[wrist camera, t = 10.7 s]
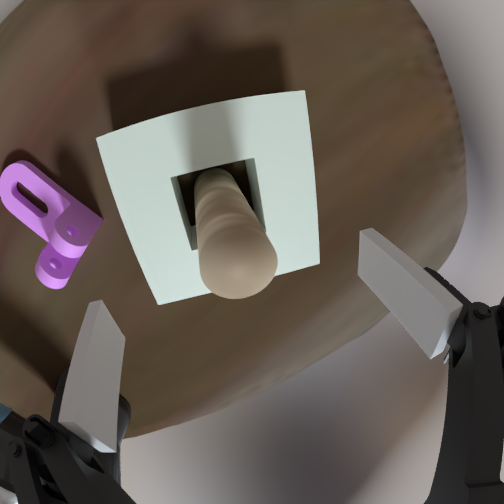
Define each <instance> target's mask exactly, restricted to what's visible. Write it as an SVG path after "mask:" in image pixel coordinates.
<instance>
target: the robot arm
mask: <svg viewBox="0 0 504 504" xmlns="http://www.w3.org/2000/svg"><path fill="white" fill-rule="evenodd" d="M358 276H359V277H360V278H361V279H362V280H363V281H364V282H365V283H366V284H367V286H368V287H369V288H370V289H371V290H372V291H373V292H374V293H375V294H376V296H377V297H378V298H379V299H380V300H381V301H382V302H383V303H384V305H385V306H386V307H387V308H388V309H389V310H390V311H391V313H392V314H393V315H394V316H395V317H396V318H397V320H398V321H399V322H400V323H401V324H402V325H403V327H404V328H405V329H406V330H407V331H408V333H409V334H410V335H411V336H412V337H413V339H414V340H415V341H416V342H417V343H418V345H419V346H420V347H421V348H422V350H423V351H424V352H425V353H426V355H427V356H428V357H429V358H430V359H432V358H433V357H435V356H436V355H438V354H439V353H441V352H442V351H443V349H444V347H445V345H446V343H448V344H449V345H450V346H451V347H450V349H449V351H448V353H447V355H446V357H445V358H444V362H443V363H446V361H447V359H448V358H449V363H448V364H449V371H448V372H449V373H448V391H447V404H446V414H445V422H444V429H443V436H442V442H441V448H440V453H439V458H438V463H437V467H436V472H435V476H434V479H433V483H432V487H431V491H430V494H429V496H428V498H427V500H426V501H425V503H424V504H504V483H503V482H502V481H501V480H500V470H501V462H502V453H503V442H504V297H503V298H502V300H501V303H500V305H497V306H493V307H489V306H488V305H486V304H484V303H481V302H474V303H471V302H470V301H469V300H468V299H467V298H466V297H464V296H463V295H462V294H461V293H460V292H459V291H458V290H457V289H456V288H455V287H453V286H452V285H450V284H449V282H448V281H447V280H444V278H443V277H442V276H441V275H440V274H439V273H437V272H436V271H434V270H432V269H430V268H428V267H425V268H422V267H420V266H419V265H418V264H417V263H416V262H415V261H413V260H412V259H411V258H410V257H409V256H407V255H406V254H405V253H404V252H402V251H401V250H400V249H399V248H397V247H396V246H395V245H394V244H392V243H391V242H390V241H389V240H387V239H386V238H385V237H383V236H382V235H381V234H380V233H378V232H377V231H376V230H374V229H373V228H369V229H365V230H362V231H360V243H359V263H358ZM124 345H125V337H124V335H123V334H122V332H121V331H120V329H119V328H118V326H117V324H116V323H115V321H114V320H113V318H112V316H111V315H110V313H109V311H108V309H107V308H106V306H105V304H104V303H103V301H102V300H98V301H95V302H91V303H89V305H88V308H87V311H86V314H85V317H84V320H83V323H82V326H81V329H80V332H79V336H78V339H77V342H76V346H75V349H74V353H73V356H72V360H71V364H70V367H67V368H65V369H64V370H63V372H62V374H61V375H60V377H59V381H58V385H57V387H56V391H55V395H54V403H53V407H52V413H51V418H50V423H49V422H48V421H47V420H45V419H44V418H43V417H42V416H40V415H38V414H34V415H31V416H30V417H28V418H27V419H25V418H24V417H22V416H20V415H19V414H17V413H16V412H14V411H12V409H11V408H8V407H6V406H5V405H3V404H1V403H0V504H136V503H135V502H134V501H133V500H132V499H131V497H130V496H129V495H128V494H127V493H126V492H125V491H124V490H123V489H122V487H121V473H120V445H121V442H122V439H123V437H124V435H125V432H126V429H127V427H128V425H129V423H130V420H131V407H130V405H129V404H128V402H127V401H126V400H125V399H124V398H123V397H121V396H120V395H119V389H120V378H121V369H122V360H123V352H124Z"/></svg>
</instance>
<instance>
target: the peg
mask: <svg viewBox="0 0 504 504" xmlns="http://www.w3.org/2000/svg"><path fill="white" fill-rule="evenodd" d="M194 200H195V217H196V232H197V245H198V257H199V268H200V275H201V279H202V281H203V283H204V284H205V286H206V287H207V288H208V289H209V290H210V291H211V292H213V293H214V294H216V295H218V296H221V297H224V298H230V299H239V298H245V297H249V296H252V295H254V294H256V293H258V292H260V291H261V290H262V289H264V288H265V287H266V286H267V285H268V284H269V283H270V282H271V280H272V279H273V277H274V275H275V273H276V270H277V264H278V258H277V254H276V251H275V249H274V247H273V245H272V244H271V242H270V240H269V238H268V237H267V235H266V233H265V231H264V230H263V228H262V226H261V224H260V223H259V221H258V219H257V218H256V216H255V214H254V212H253V211H252V209H251V207H250V205H249V204H248V202H247V200H246V199H245V197H244V195H243V194H242V192H241V190H240V188H239V187H238V185H237V183H236V182H235V180H234V178H233V177H232V175H231V174H230V173H229V172H227V171H226V170H224V169H221V168H210V169H207V170H205V171H203V172H202V173H201V174H200V175H199V176H198V177H197V179H196V181H195V184H194Z"/></svg>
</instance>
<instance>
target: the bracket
mask: <svg viewBox="0 0 504 504" xmlns="http://www.w3.org/2000/svg"><path fill="white" fill-rule="evenodd" d="M17 182H20V183H21V184H22V185H24V186H25V187H26V188H27V189H28V190H30V191H31V192H32V193H33V194H34V195H36V196H37V197H38V198H39V199H41V200H42V201H43V202H44V203H45V204H46V205H47V207H48V213H44V212H42V211H41V210H40V209H39V208H37V207H36V206H35V205H34V204H32V203H31V202H30V201H29V200H28V199H26V198H25V197H24V196H23V195H22V194H20V193H19V191H18V190H17ZM0 196H1V199H2V202H3V204H4V205H5V207H6V208H7V209H8V210H9V211H10V212H11V213H12V214H14V215H15V216H16V217H17V218H18V219H19V220H21V221H22V222H23V223H24V224H26V225H27V226H28V227H29V228H30V229H32V230H33V231H34V232H36V233H37V234H38V235H39V236H41V237H42V238H43V239H45V240H46V241H47V242H48V244H47V246H46V247H45V248H44V249H43V251H42V252H41V253H40V255H39V258H38V260H37V263H36V265H35V273H36V275H37V277H38V279H39V280H40V281H41V282H42V283H43V284H44V285H46V286H47V287H49V288H53V289H60V288H63V287H64V286H65V285H66V283H67V281H68V279H69V278H70V276H71V274H72V272H73V270H74V268H75V266H76V265H77V263H78V261H79V259H80V258H81V256H82V254H83V252H84V251H85V249H86V247H87V246H88V244H89V242H90V241H91V239H92V237H93V236H94V234H95V232H96V231H97V229H98V228H99V226H100V225H101V223H102V221H103V220H104V219H102V218H101V217H99V216H98V215H97V214H95V213H94V212H93V211H91V210H90V209H89V208H87V207H86V206H85V205H83V204H82V203H81V202H79V201H78V200H77V199H76V198H74V197H73V196H72V195H70V194H69V193H68V192H67V191H65V190H64V189H63V188H61V187H60V186H59V185H58V184H56V183H55V182H54V181H53V180H51V179H50V178H49V177H48V176H46V175H45V174H44V173H43V172H42V171H40V170H39V169H38V168H37V167H35V166H34V165H33V164H32V163H30V162H28V161H24V160H21V161H17V162H15V163H13V164H11V165H9V166H8V167H7V168H6V169H5V170H4V171H3V173H2V175H1V178H0Z"/></svg>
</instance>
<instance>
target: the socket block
mask: <svg viewBox="0 0 504 504" xmlns="http://www.w3.org/2000/svg"><path fill="white" fill-rule="evenodd" d="M96 140H97V143H98V147H99V151H100V154H101V158H102V161H103V164H104V168H105V171H106V174H107V177H108V180H109V184H110V187H111V190H112V193H113V196H114V198H115V201H116V204H117V207H118V210H119V213H120V215H121V218H122V221H123V223H124V226H125V229H126V231H127V234H128V236H129V239H130V242H131V244H132V247H133V249H134V251H135V254H136V256H137V259H138V261H139V263H140V266H141V268H142V270H143V273H144V275H145V277H146V279H147V282H148V284H149V286H150V288H151V290H152V293H153V295H154V297H155V299H156V301H157V303H158V305H161V304H165V303H169V302H174V301H178V300H182V299H186V298H190V297H194V296H199V295H203V294H207V293H211V291H210V290H209V289H208V288H207V287H206V286H205V284H204V283H203V281H202V279H201V275H200V268H199V257H198V245H197V232H196V225H194V226H191V225H190V222H189V218H188V215H187V211H186V208H185V204H184V201H183V197H182V193H181V190H180V186H179V182H178V178H177V176H178V175H182V174H186V173H189V172H193V171H197V170H201V169H205V168H209V167H214V166H218V165H222V164H227V163H231V162H236V161H240V160H245V164H246V169H247V175H248V180H249V186H250V192H251V197H252V203H253V209H254V211H253V212H254V214H255V216H256V218H257V219H258V221H259V223H260V224H261V226H262V228H263V230H264V231H265V233H266V235H267V237H268V238H269V240H270V242H271V244H272V245H273V247H274V249H275V251H276V254H277V258H278V264H277V270H276V273H275V275H274V276H276V275H280V274H284V273H287V272H291V271H295V270H298V269H302V268H306V267H309V266H313V265H316V264H320V259H319V234H318V216H317V200H316V187H315V175H314V164H313V154H312V144H311V135H310V127H309V118H308V111H307V103H306V96H305V90H304V91H292V92H282V93H273V94H265V95H258V96H251V97H245V98H238V99H233V100H227V101H222V102H217V103H212V104H207V105H203V106H198V107H194V108H190V109H186V110H182V111H178V112H174V113H170V114H167V115H163V116H159V117H156V118H153V119H149V120H146V121H143V122H140V123H137V124H134V125H131V126H128V127H125V128H122V129H119V130H116V131H114V132H111V133H108V134H106V135H103V136H100V137H98V138H96Z"/></svg>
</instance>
